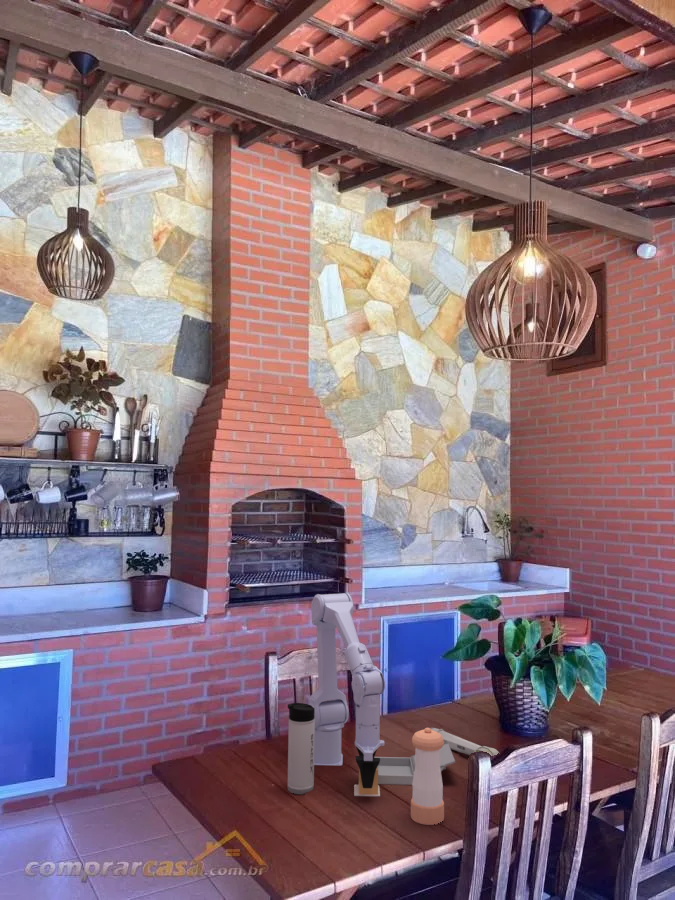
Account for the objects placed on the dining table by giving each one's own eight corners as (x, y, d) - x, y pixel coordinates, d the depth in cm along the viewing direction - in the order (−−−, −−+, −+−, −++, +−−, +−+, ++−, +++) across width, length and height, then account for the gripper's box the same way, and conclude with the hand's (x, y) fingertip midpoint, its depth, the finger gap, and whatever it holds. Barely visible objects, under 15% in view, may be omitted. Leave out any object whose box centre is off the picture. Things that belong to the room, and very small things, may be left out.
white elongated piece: (436, 742, 202) (506, 767, 182) (420, 747, 198) (490, 773, 178) (436, 723, 202) (506, 746, 183) (420, 728, 198) (489, 752, 178)
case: (374, 787, 169) (375, 760, 169) (373, 766, 182) (373, 741, 182) (455, 788, 168) (456, 762, 169) (448, 768, 181) (448, 743, 182)
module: (358, 793, 163) (359, 768, 164) (358, 785, 168) (359, 760, 168) (377, 794, 163) (378, 768, 164) (377, 786, 168) (377, 761, 168)
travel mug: (282, 786, 169) (284, 701, 170) (308, 782, 171) (310, 699, 172) (290, 796, 163) (291, 709, 164) (317, 792, 165) (318, 706, 166)
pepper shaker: (403, 816, 153) (404, 727, 155) (424, 806, 159) (425, 720, 160) (430, 828, 148) (430, 736, 149) (450, 817, 153) (451, 728, 155)
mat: (354, 797, 163) (354, 795, 163) (354, 787, 169) (354, 784, 169) (380, 798, 163) (380, 795, 163) (379, 787, 169) (379, 785, 169)
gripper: (386, 733, 159) (385, 794, 158) (383, 713, 174) (382, 769, 173) (355, 732, 159) (354, 793, 159) (354, 712, 174) (354, 768, 173)
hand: (367, 780), depth 166 cm, fingers open, 7 cm apart
